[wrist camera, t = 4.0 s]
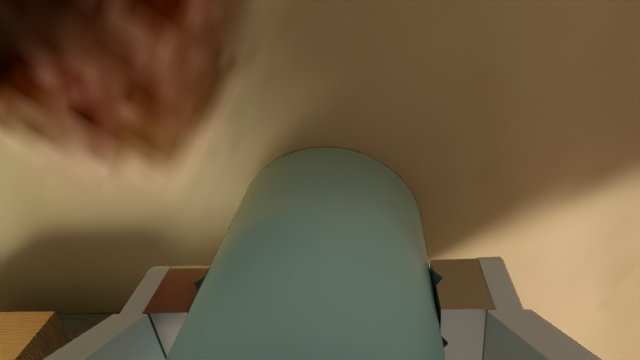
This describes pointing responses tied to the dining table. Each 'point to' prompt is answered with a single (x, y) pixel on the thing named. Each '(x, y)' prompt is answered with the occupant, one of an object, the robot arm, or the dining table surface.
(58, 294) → the dining table surface
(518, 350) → the robot arm
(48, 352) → the gray drawer
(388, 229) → the capped canister
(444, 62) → the dining table surface
